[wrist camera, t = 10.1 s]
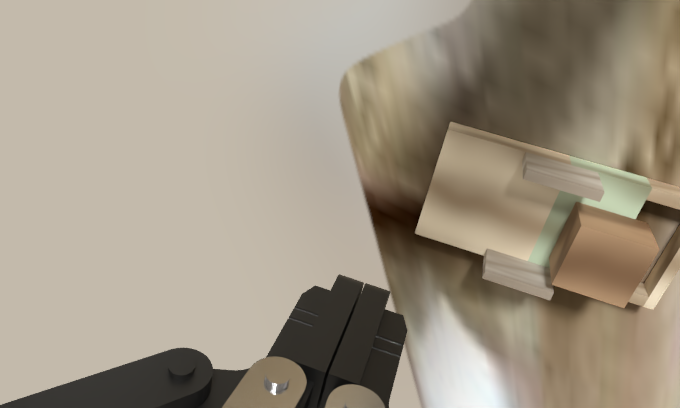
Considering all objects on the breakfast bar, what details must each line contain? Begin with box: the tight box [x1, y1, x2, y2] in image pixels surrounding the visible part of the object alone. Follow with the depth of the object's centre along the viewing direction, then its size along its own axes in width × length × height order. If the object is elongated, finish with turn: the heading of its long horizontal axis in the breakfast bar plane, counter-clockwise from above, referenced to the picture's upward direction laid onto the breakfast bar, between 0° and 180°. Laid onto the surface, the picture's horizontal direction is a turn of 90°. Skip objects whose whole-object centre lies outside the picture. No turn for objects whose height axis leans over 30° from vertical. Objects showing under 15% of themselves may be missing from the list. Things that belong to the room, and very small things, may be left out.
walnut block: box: [549, 202, 659, 308], centre depth 42 cm, size 6×6×4 cm
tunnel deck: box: [415, 121, 680, 310], centre depth 44 cm, size 10×20×6 cm, turn 78°
